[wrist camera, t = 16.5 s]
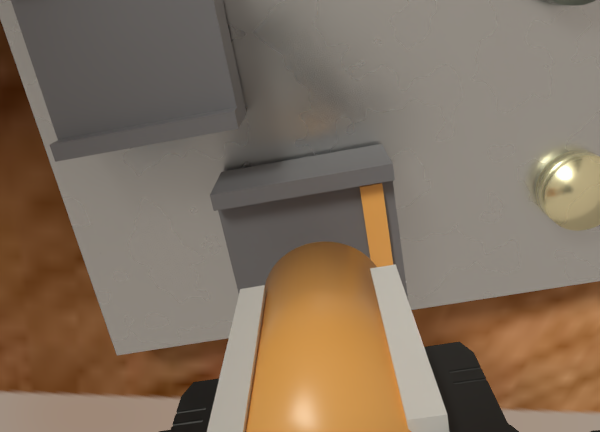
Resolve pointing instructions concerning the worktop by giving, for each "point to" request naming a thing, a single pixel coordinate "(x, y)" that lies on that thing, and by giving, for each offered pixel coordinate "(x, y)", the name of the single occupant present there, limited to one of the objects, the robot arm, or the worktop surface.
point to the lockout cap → (323, 348)
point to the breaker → (131, 71)
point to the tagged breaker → (309, 210)
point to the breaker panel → (355, 134)
